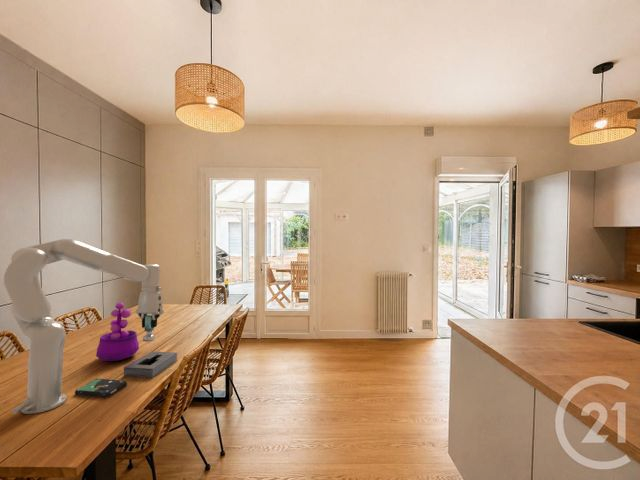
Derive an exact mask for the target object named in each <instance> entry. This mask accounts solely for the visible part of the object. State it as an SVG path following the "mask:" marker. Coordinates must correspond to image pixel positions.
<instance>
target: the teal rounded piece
mask: <svg viewBox="0 0 640 480" xmlns="http://www.w3.org/2000/svg"><path fill="white" fill-rule="evenodd" d="M151 320H153V318H152V314H147V315H146V316H145V327H144V332H146V333H145V335H143V337H142V341H143V342H146V343H147V342H153V341H155V340H156V334H154V333H153V331H154V330H155V328H151Z"/></svg>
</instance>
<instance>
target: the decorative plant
mask: <svg viewBox="0 0 640 480" xmlns="http://www.w3.org/2000/svg"><path fill="white" fill-rule="evenodd" d="M124 308H125V304H124V302H122V301H121V302H117V303H116V304H115V309H113V310H112V311H111V313H110V315H111V317H113V318H116V319H112V320H111V321H110V325H111V326H110V331H111V332H108V333H105V334H103V335H100V337H99V342H98V346H97V348H96V353H95V354H96V355H95V356H96V357H97V358H98V359H99V360H100V361H104V362H115V361H121V360H125V359H128V358H130V357H132V356H133V355H136V353H137V352H138V351H139V349H140V344H139V343H140V342H139V340H138V333H137V332H136V331H134V330H123V329H125V328H127V325H128V324H129V321H128V319H127V318H130V316H131V315H132V311H131V309H127V308H125V309H124ZM121 310H122V311H121ZM122 318H123V319H122Z"/></svg>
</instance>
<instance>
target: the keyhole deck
mask: <svg viewBox="0 0 640 480" xmlns="http://www.w3.org/2000/svg"><path fill="white" fill-rule="evenodd" d="M177 359H178V352H173V351H172V352H171V351H156V350H155V351H150V352H148V353H146V354H144V355H143V356H141V357H139V358H138V359H136V360H134V361H133V362H131V363H129V364H126V365H125V366H124V367H123V377H125V378H126V377H129V378H144V379H145V378H147V379H154V378H155V377H156V376H157V375H159V374H160V373H162V372H163V371H165V370H166V369H168V367H170V366H171V365H172V364H174V363H176V362H177ZM152 361H154V362H153V363H151V362H152ZM149 363H151V364H150V365H149Z"/></svg>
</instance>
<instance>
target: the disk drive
mask: <svg viewBox="0 0 640 480" xmlns="http://www.w3.org/2000/svg"><path fill="white" fill-rule="evenodd" d="M127 386H128V380H119V379H108V378H107V379H106V378H95V379H93V380H91V381H89V382H87V383H86V384H85V385H82V386H80V387H79V388H76V389H75V391H74V396H77V397H78V396H79V397H91V398H102V399H109V398H110V397H111V396H113V395H115V394H117V393H118V392H120V391H122V390H123V389H124V388H126V387H127Z"/></svg>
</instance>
